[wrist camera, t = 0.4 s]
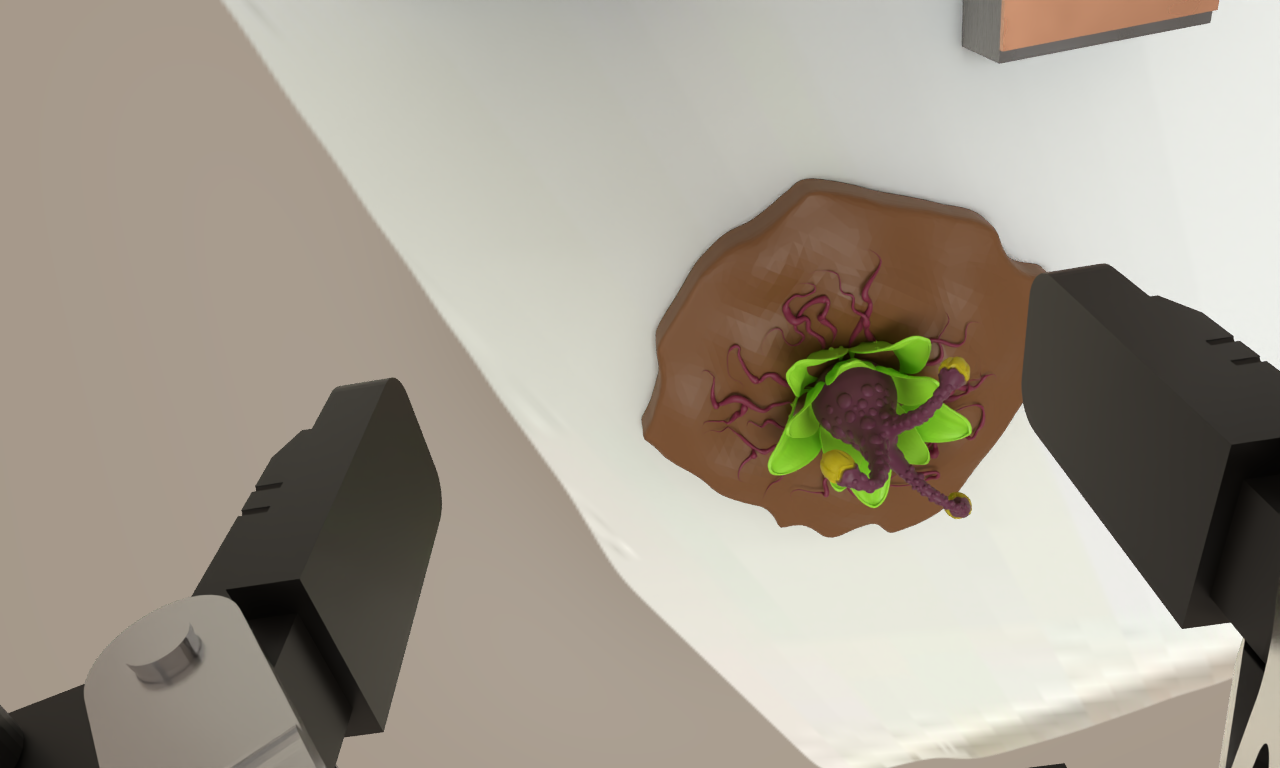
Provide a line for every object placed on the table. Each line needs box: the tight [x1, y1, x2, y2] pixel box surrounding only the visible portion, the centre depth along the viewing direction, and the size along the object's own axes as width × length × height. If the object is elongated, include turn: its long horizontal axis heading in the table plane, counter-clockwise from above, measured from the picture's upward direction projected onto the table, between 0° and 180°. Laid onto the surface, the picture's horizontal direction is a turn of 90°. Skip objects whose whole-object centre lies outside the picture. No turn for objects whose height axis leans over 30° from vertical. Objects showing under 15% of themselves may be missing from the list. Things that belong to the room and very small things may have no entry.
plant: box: [641, 179, 1047, 538], centre depth 39 cm, size 20×20×11 cm
